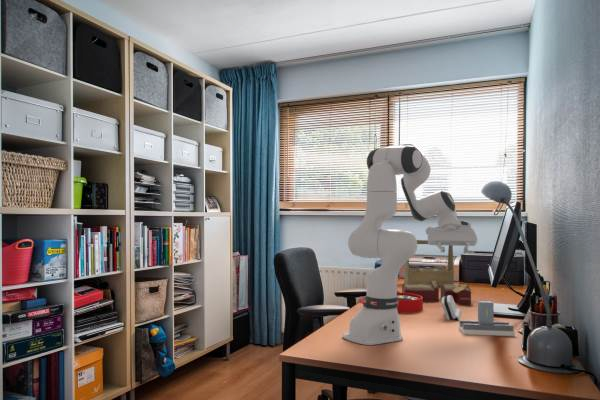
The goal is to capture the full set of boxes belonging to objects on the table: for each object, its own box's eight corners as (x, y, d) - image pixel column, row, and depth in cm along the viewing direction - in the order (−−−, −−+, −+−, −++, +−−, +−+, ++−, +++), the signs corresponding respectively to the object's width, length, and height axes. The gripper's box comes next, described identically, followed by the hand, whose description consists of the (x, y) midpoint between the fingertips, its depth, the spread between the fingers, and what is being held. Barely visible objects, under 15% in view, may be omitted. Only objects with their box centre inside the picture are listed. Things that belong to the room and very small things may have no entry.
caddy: (449, 284, 285) (449, 238, 286) (454, 286, 274) (454, 238, 275) (404, 283, 286) (404, 237, 287) (407, 286, 276) (407, 238, 277)
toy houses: (463, 298, 237) (463, 279, 238) (477, 306, 217) (477, 285, 217) (380, 296, 239) (380, 278, 239) (386, 304, 219) (386, 284, 219)
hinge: (459, 321, 184) (451, 297, 186) (448, 323, 186) (440, 300, 188) (461, 312, 200) (453, 291, 201) (451, 315, 201) (443, 294, 203)
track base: (464, 334, 164) (464, 324, 164) (458, 328, 172) (458, 319, 172) (514, 336, 162) (514, 326, 162) (506, 330, 170) (506, 321, 170)
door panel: (480, 329, 166) (480, 302, 166) (478, 327, 168) (477, 301, 169) (493, 329, 165) (493, 302, 165) (491, 327, 168) (491, 301, 168)
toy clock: (374, 297, 206) (387, 291, 223) (374, 309, 206) (387, 302, 223) (416, 301, 196) (427, 294, 214) (416, 315, 196) (427, 307, 213)
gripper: (426, 222, 192) (430, 246, 182) (474, 222, 190) (481, 247, 180) (424, 232, 196) (428, 255, 186) (471, 232, 194) (478, 256, 184)
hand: (454, 251), depth 183 cm, fingers open, 8 cm apart
